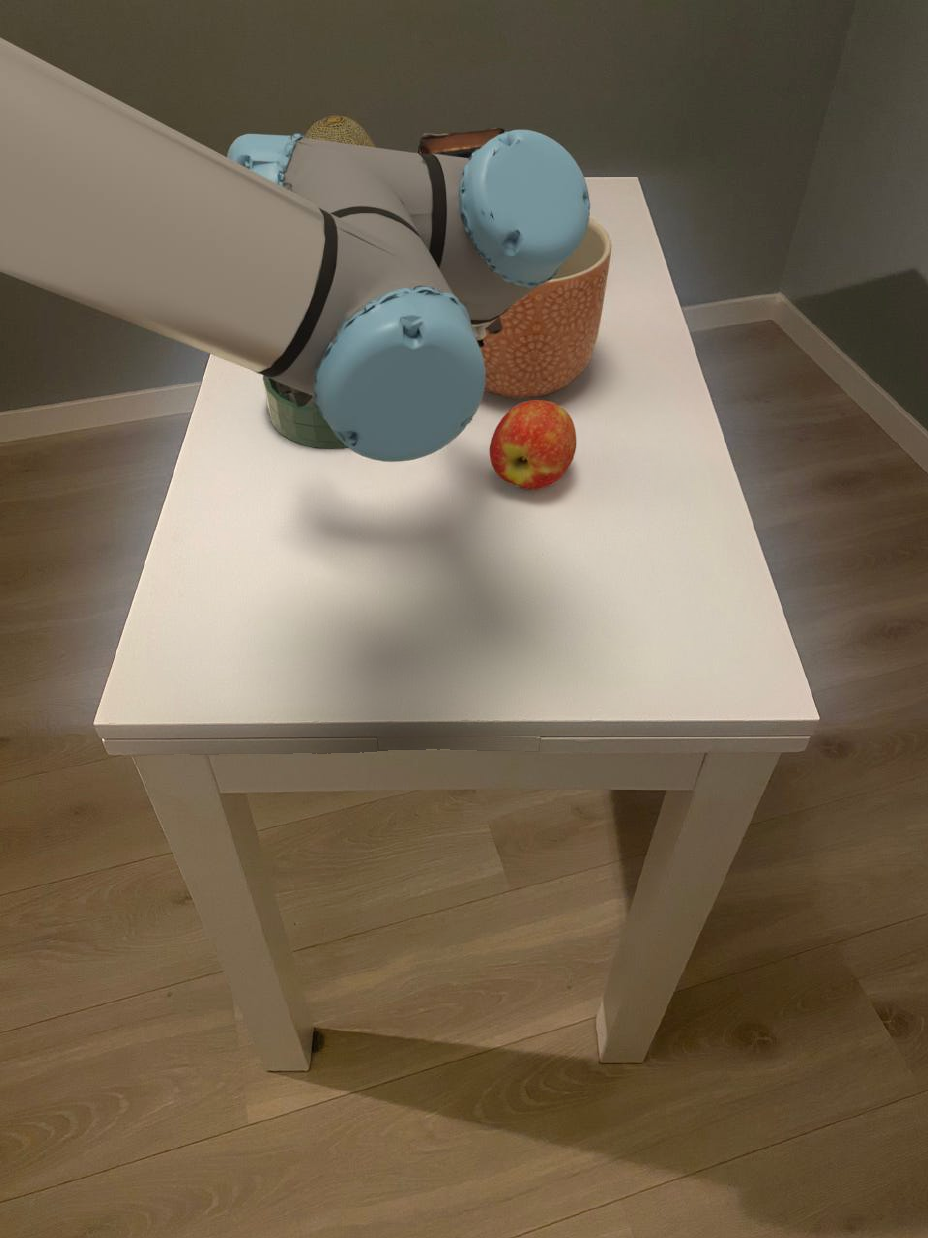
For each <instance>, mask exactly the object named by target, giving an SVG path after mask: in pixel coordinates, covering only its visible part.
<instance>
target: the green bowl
mask: <svg viewBox="0 0 928 1238" xmlns="http://www.w3.org/2000/svg"><path fill="white" fill-rule="evenodd" d="M262 382H263V388H264V393H265V398H266V399H265V400H266V404H267V409H268V413H269V418H270V422H271V423H272V425H273V427H274V429H276V431H277V432H278V433H279V434H281V436H282V437H284V438H286V439H287V440H290V441H291V442H294V443H296V444H299V445H302V446H306V447H311V448H317V449H342V448H343V449H344V448H348V446H346V445H345V444H344V443H343V442H342V441H341V440H340V439H339V438H338V437H337V436H336V435H335V434H334V432H333V430H332V429H331V427H330V426H329V424H328V423H327V422H326V421H325V420H324V419H323V417H322V416H321V414H320V413H319V409H318V408H311V407H307V406H302V407H298V406H297V404H294V403H292V402H290V401H289V395H288V394H287V395H281V394H280V392H279V389H278V386H277V383H276V381H275V380H273V379H271V378H269V377H266V376H264V375H262Z"/></svg>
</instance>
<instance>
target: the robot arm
mask: <svg viewBox="0 0 928 1238" xmlns="http://www.w3.org/2000/svg"><path fill="white" fill-rule="evenodd" d="M375 147H376V146H375ZM375 147H368V146H360V145H353V144H346V143H339V142H331V141H324V140H317V139H310V138H305V135H303V134H301V133H294V134H292V135H281V134H261V133H246V134H243V135H240V136H238V137H236V138H235V139H234V141H233V142H232V143H231V144H230V146H229V148H228V151H227V155H226V156H225V155H223V154H221V153H219V152H218V151H216V150H214V149H212V148H210V147H208V146H206V145H204V144H202V143H201V142H198V141H197V140H195V139H193V138H191V137H190V136H187V135H185V134H183V133H182V132H180V131H178V130H176V129H175V128H172V127H170V126H168V125H166V124H164V123H163V122H161V121H159V120H157V119H155V118H153V117H152V116H149V115H148V114H145V113H144V112H142V111H140V110H138V109H137V108H135V107H133V106H131V105H128V104H127V103H125V102H123V101H121V100H119V99H118V98H115V97H114V96H111V95H110V94H108V93H106V92H104V91H102V90H101V89H99V88H96V87H95V86H93V85H91V84H89V83H87V82H86V81H83V80H81V79H79V78H77V77H76V76H74V75H72V74H70V73H68V72H66V71H64V70H62V69H61V68H59V67H57V66H55V65H53V64H52V63H49V62H47V61H45V60H44V59H42V58H40V57H38V56H36V55H35V54H32V53H30V52H28V51H27V50H25V49H23V48H21V47H19V46H17V45H15V44H13V43H12V42H10V41H8V40H6V39H4V38H2V37H0V273H2V274H5V275H7V276H10V277H12V278H16V279H17V280H20V281H23V282H26V283H28V284H31V285H33V286H35V287H38V288H40V289H43V290H46V291H49V292H51V293H54V294H55V295H58V296H61V297H63V298H66V299H69V300H72V301H74V302H77V303H78V304H82V305H84V306H87V307H89V308H91V309H92V308H93V309H95V310H97V311H99V312H102V313H105V314H108V315H110V316H112V317H115V318H118V319H120V320H123V321H125V322H128V323H130V324H133V325H135V326H138V327H140V328H143V329H145V330H148V331H151V332H153V333H156V334H158V335H160V336H163V337H165V338H169V339H171V340H174V341H177V342H179V343H181V344H183V345H187V346H189V347H192V348H194V349H197V350H199V351H201V352H204V353H207V354H209V355H212V356H213V357H217V358H218V359H222V360H225V361H228V362H230V363H232V364H235V365H237V366H240V367H242V368H244V369H248V370H250V371H252V372H253V373H256V374H259V375H261V376H263V375H264V376H266V377H269V378H271V379H273V380H275V381H276V383H277V386H278V389H279V392H280V394H281V395H287V394H290V393H291V394H293V395H294V398H295V401H296V403H297V406H298V407H302V406H305V405H307V403H308V402H309V401H310V400H311V399H312V397H313V396H314V398H315V403H316V404H317V405H318V409H319V413H320V414H321V416H322V417H323V419H324V420H325V421H326V422H327V423H328V424H329V426H330V427H331V429H332V430H333V432H334V434H335V435H336V436H337V437H338V438H339V439H340V440H341V441H342V442H343V443H344V444H345V445H346V446H348V447H347V448H348V449H350V450H351V451H352V452H354V453H355V454H357V455H360V456H362V457H364V458H367V459H369V460H374V461H379V462H387V463H396V462H407V461H408V462H409V461H414V460H418V459H422V458H425V457H426V456H430V455H432V454H434V453H436V452H438V451H440V450H442V449H443V448H445V447H446V446H448V445H449V444H450V443H451V442H453V441H454V440H455V439H457V438H458V437H459V436H460V434H461V433H462V432H464V430H465V429H466V427H467V426H468V425H469V424H470V423H471V422H472V421H473V417H474V415H476V413H477V412H478V409H479V407H480V406H481V403H482V400H483V398H484V393H485V390H484V388H485V376H486V371H485V363H484V359H483V356H482V352H481V350H480V348H481V347H483V346H484V342H483V339H484V338H485V337H486V330H487V329H488V331H489V334H497V333H499V332H500V331H501V330H502V329H503V328H502V324H501V320H500V316H501V315H502V314H504V313H505V312H506V311H508V309H509V308H510V307H511V306H512V305H513V304H515V303H516V302H517V301H519V300H520V299H521V298H523V297H524V296H525V295H527V294H528V293H529V292H531V291H532V290H533V289H535V288H536V287H537V286H541V285H542V284H543V283H546V282H548V281H549V280H550V279H552V278H553V277H554V276H555V274H556V273H557V271H558V270H559V269H560V267H561V266H562V265H563V264H564V263H565V262H566V261H567V259H568V258H569V257H570V256H571V255H572V254H573V253H574V252H575V251H576V249H577V248H578V247H579V245H580V243H581V242H582V240H583V238H584V236H585V233H586V230H587V227H588V223H589V218H590V215H591V201H590V193H589V188H588V185H587V182H586V179H585V177H584V174H583V172H582V170H581V168H580V166H579V165H578V163H577V161H576V160H575V159H574V157H573V156H572V155H571V153H570V152H569V151H568V150H566V148H565V147H564V146H562V145H561V144H560V143H559V142H558V141H556V140H554V139H553V138H551V137H549V136H548V135H545V134H544V133H541V132H538V131H535V130H530V129H513V130H511V131H510V130H509V131H506V132H505V133H503V134H500V135H498V136H496V137H494V138H493V139H490V140H489V141H488V142H487V143H486V144H485V145H483V146H482V147H481V148H480V149H476V150H475V151H474V152H473V153H472V156H471V157H469V158H462V157H454V156H447V155H439V154H421V153H418V152H411V151H405V150H403V151H402V150H395V149H388V148H382V147H376V148H375Z"/></svg>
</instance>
